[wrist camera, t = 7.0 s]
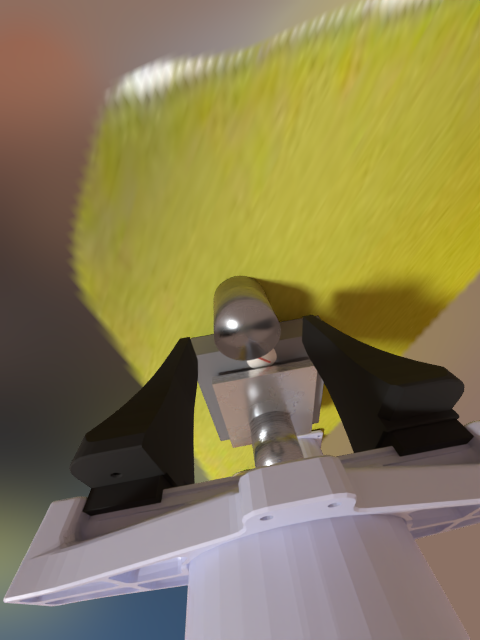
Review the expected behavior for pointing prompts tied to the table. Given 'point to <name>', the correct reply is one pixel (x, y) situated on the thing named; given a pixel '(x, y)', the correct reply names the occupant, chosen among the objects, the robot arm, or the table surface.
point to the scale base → (249, 367)
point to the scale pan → (266, 397)
